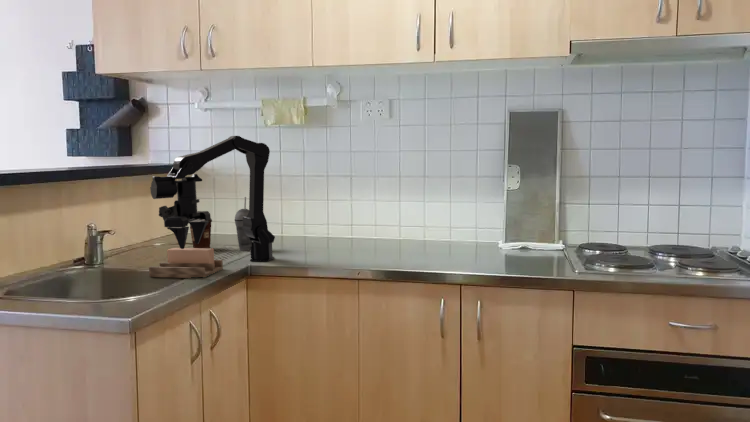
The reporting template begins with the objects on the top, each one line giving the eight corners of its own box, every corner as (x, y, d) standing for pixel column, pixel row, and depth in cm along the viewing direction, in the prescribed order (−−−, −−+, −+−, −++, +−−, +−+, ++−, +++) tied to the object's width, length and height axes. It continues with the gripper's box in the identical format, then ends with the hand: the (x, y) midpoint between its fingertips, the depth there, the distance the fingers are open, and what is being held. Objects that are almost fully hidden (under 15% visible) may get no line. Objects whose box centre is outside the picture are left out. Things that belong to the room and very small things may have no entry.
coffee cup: (192, 252, 224) (190, 217, 223) (187, 249, 231) (185, 215, 230) (216, 249, 229) (214, 215, 227) (209, 246, 236) (208, 213, 234)
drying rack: (222, 269, 192) (222, 259, 192) (204, 278, 180) (203, 268, 180) (171, 268, 196) (170, 259, 196) (149, 276, 184) (148, 267, 183)
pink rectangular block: (214, 267, 191) (213, 248, 190) (209, 269, 188) (208, 250, 187) (174, 266, 194) (173, 247, 193) (168, 268, 190) (167, 249, 190)
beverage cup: (246, 247, 232) (243, 195, 229) (259, 249, 227) (257, 196, 225) (231, 250, 226) (228, 197, 223) (245, 252, 221) (242, 198, 219)
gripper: (178, 194, 199) (181, 240, 201) (146, 199, 181) (149, 251, 182) (210, 194, 197) (212, 241, 198) (180, 199, 178) (183, 251, 180)
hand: (189, 246), depth 190 cm, fingers open, 9 cm apart
